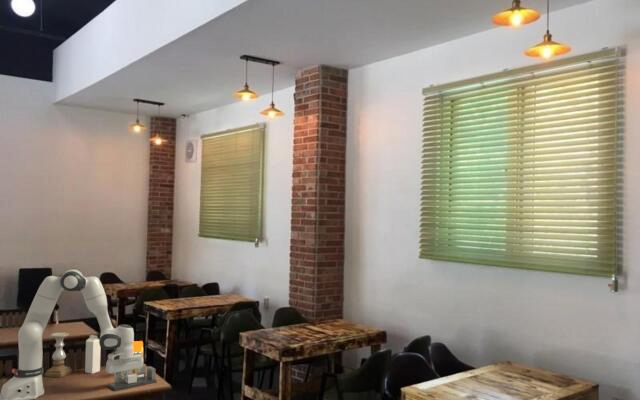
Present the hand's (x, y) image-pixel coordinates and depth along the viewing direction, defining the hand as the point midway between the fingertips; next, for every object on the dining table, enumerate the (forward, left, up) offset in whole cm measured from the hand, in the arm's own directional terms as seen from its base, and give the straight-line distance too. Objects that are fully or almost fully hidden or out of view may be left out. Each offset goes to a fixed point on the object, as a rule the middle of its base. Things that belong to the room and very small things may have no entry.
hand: (124, 378), depth 302 cm
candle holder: (-22, +45, -4) cm, 50 cm away
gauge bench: (+5, +1, -4) cm, 7 cm away
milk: (-4, +38, -4) cm, 39 cm away
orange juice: (+13, +17, -4) cm, 22 cm away
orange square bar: (+8, +3, -2) cm, 9 cm away
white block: (+6, +1, -2) cm, 7 cm away
